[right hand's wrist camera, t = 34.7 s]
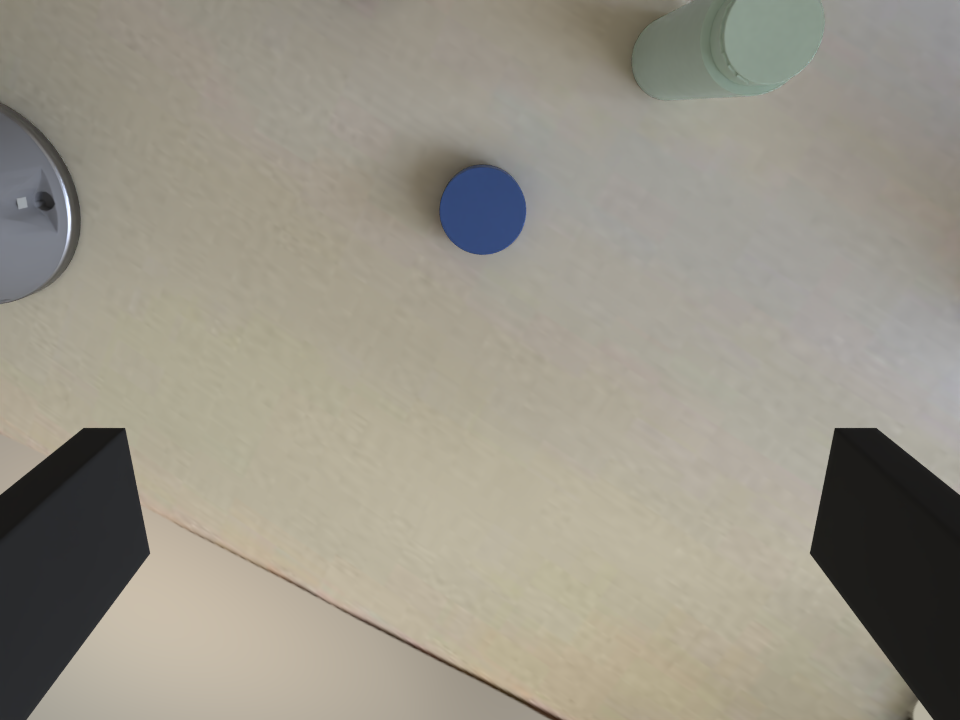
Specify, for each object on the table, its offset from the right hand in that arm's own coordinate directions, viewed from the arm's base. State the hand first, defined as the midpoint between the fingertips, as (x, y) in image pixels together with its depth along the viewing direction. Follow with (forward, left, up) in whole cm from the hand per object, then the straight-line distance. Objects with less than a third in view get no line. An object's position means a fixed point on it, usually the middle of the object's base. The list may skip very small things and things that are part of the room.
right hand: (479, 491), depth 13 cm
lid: (0, 0, -39) cm, 39 cm away
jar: (+3, +16, -41) cm, 44 cm away
